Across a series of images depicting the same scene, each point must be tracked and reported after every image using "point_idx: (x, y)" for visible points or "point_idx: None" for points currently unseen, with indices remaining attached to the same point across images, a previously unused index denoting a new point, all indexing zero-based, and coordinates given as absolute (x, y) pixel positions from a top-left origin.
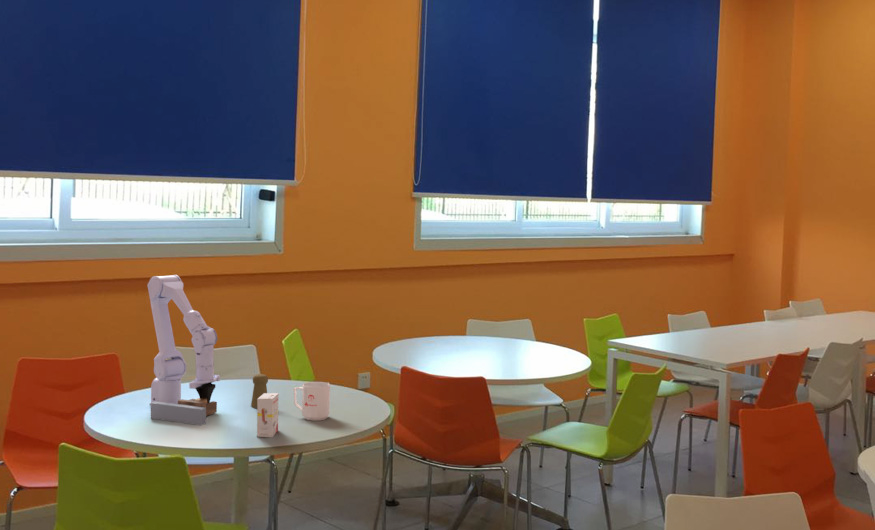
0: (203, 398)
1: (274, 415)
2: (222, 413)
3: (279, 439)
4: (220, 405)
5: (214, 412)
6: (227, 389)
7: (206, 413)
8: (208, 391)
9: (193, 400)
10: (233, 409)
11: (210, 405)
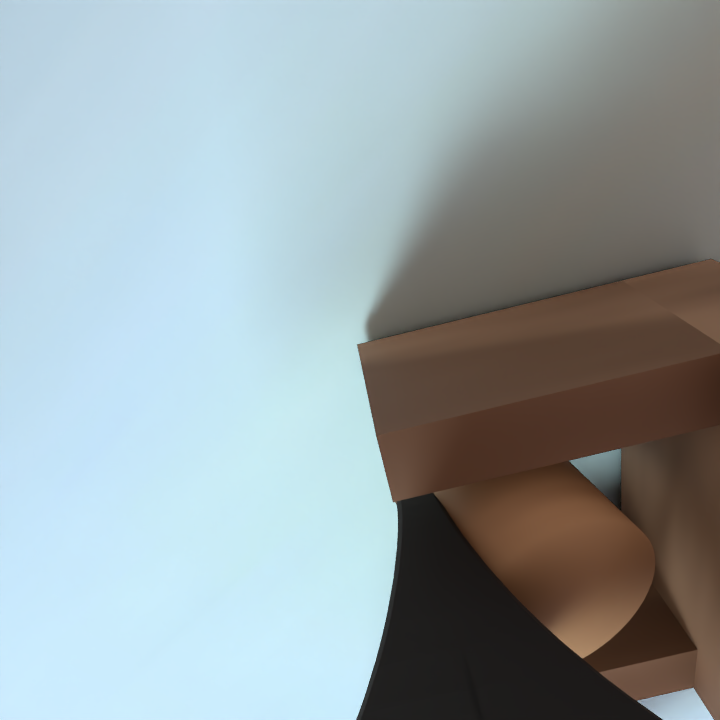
0: None
1: None
2: (310, 266)
3: None
4: (45, 587)
5: (411, 335)
6: None
7: (629, 295)
8: (584, 691)
9: None
10: (18, 335)
11: (571, 370)
